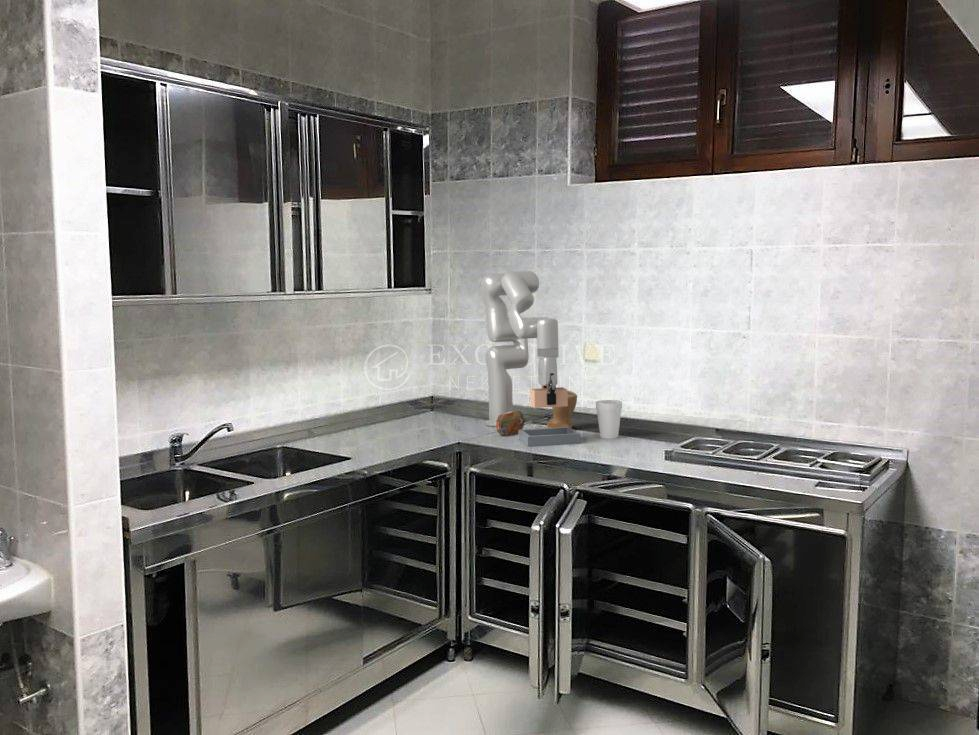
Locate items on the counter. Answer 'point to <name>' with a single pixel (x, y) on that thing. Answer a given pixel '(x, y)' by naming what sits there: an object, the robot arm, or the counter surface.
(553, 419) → the brown boot
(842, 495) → the counter surface
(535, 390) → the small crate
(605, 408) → the foam cup
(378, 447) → the counter surface
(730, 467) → the counter surface
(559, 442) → the grey tray
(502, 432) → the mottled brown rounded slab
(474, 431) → the counter surface
